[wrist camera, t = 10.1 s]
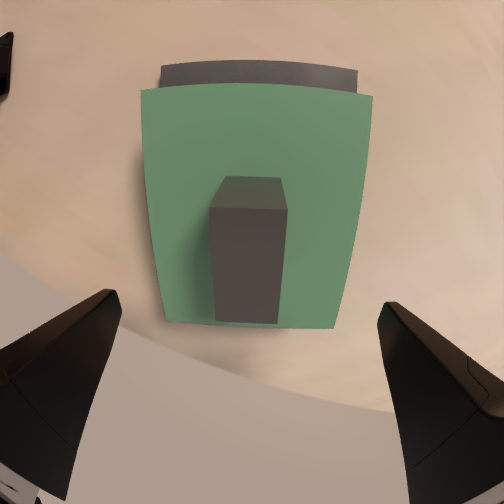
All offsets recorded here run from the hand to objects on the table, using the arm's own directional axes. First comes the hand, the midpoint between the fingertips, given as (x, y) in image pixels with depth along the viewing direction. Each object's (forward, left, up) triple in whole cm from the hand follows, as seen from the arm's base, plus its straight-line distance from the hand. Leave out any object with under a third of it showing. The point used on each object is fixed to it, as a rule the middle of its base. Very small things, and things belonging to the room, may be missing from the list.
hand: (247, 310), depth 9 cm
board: (0, 0, -8) cm, 8 cm away
